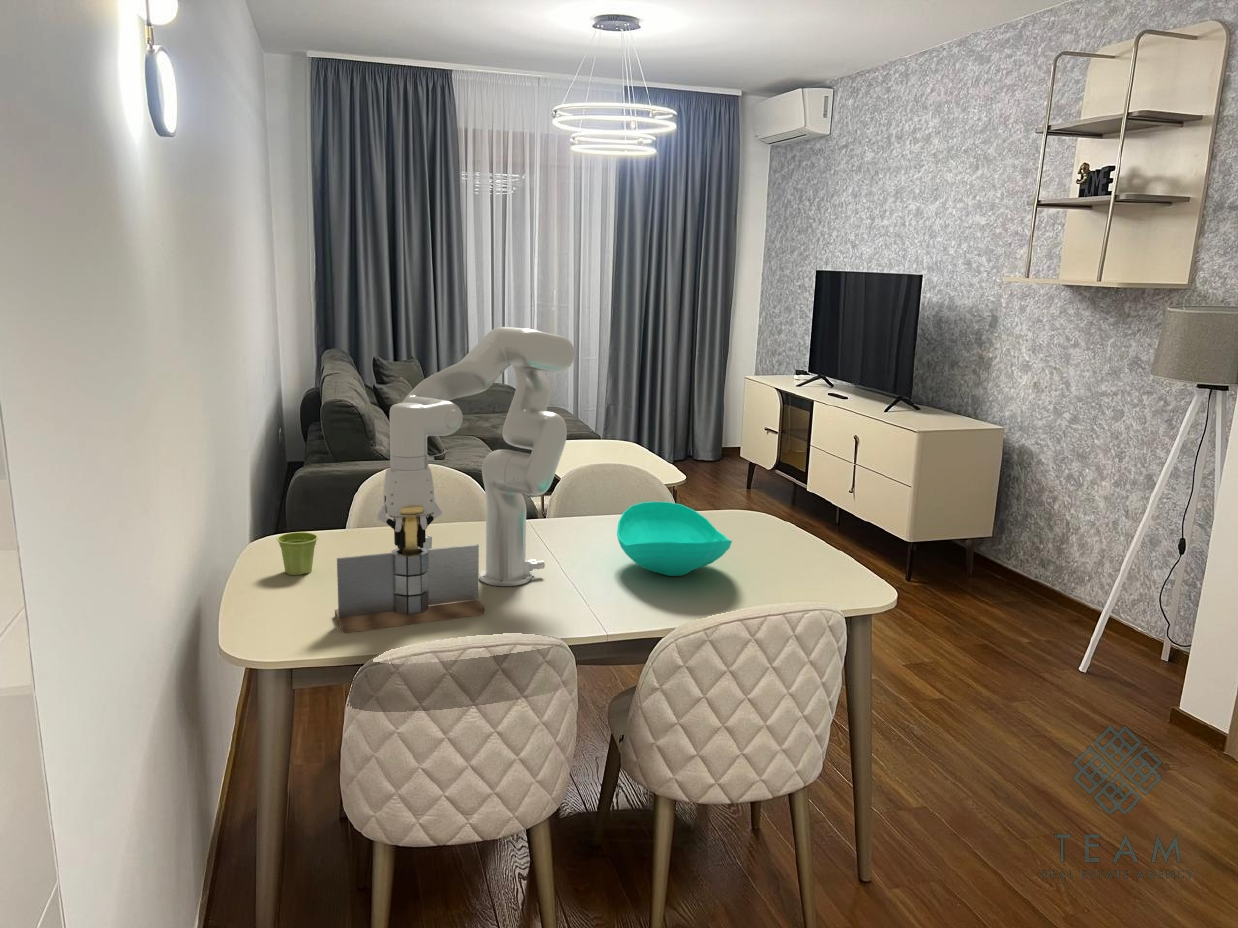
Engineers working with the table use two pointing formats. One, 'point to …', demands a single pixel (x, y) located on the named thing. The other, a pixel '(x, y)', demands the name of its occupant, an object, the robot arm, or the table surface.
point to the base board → (411, 616)
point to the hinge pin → (411, 529)
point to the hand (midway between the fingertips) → (410, 546)
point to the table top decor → (669, 538)
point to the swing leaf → (445, 576)
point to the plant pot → (297, 552)
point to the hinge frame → (379, 584)
